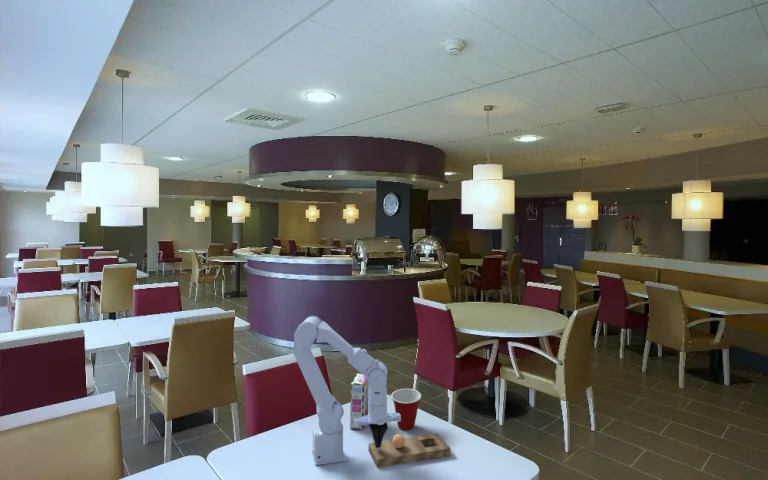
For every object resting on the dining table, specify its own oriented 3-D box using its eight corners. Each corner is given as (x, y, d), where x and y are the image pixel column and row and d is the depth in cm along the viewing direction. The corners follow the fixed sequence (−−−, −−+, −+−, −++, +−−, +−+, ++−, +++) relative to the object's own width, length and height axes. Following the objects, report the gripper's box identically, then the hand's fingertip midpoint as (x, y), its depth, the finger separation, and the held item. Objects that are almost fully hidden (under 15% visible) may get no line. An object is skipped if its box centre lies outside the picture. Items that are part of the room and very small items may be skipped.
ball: (394, 451, 134) (394, 438, 134) (390, 445, 138) (390, 432, 138) (406, 449, 135) (406, 436, 135) (402, 443, 139) (402, 431, 139)
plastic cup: (385, 429, 153) (385, 396, 153) (398, 417, 163) (399, 386, 162) (413, 437, 148) (413, 402, 148) (425, 424, 158) (426, 391, 157)
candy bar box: (363, 430, 153) (364, 384, 152) (349, 429, 154) (350, 383, 153) (369, 416, 164) (369, 373, 163) (356, 415, 165) (356, 372, 164)
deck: (377, 467, 130) (377, 459, 130) (368, 450, 139) (368, 443, 139) (450, 455, 137) (450, 448, 136) (437, 440, 146) (437, 433, 146)
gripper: (357, 411, 128) (357, 456, 129) (404, 405, 132) (403, 449, 133) (352, 401, 135) (352, 444, 136) (396, 396, 139) (396, 438, 140)
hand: (377, 446), depth 135 cm, fingers closed
